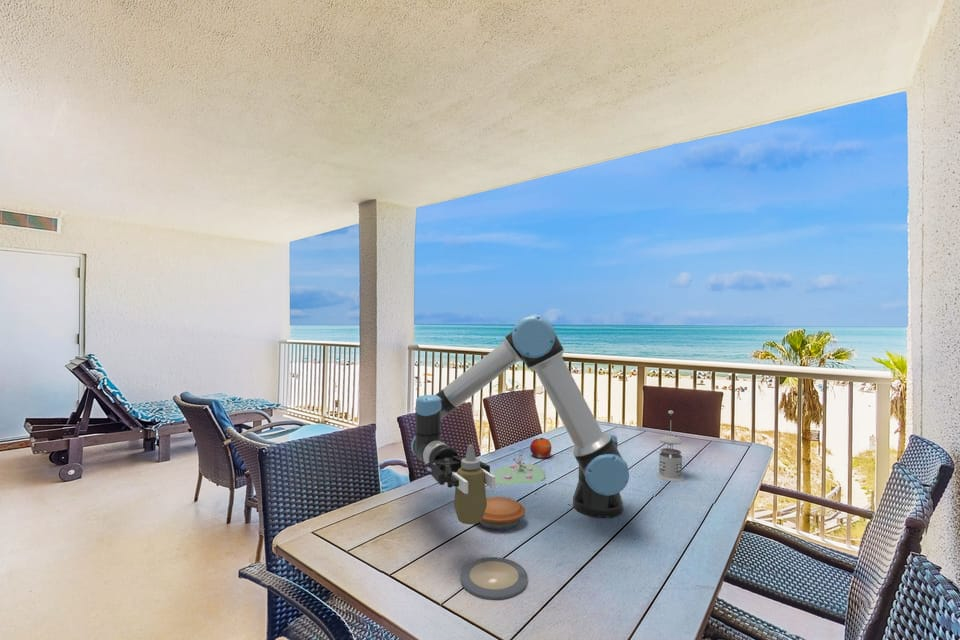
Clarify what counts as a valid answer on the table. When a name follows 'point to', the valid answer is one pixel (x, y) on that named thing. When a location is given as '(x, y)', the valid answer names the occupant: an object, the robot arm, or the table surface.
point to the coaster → (494, 578)
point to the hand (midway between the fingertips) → (480, 485)
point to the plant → (519, 473)
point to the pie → (502, 513)
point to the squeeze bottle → (471, 490)
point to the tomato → (541, 447)
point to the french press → (670, 459)
